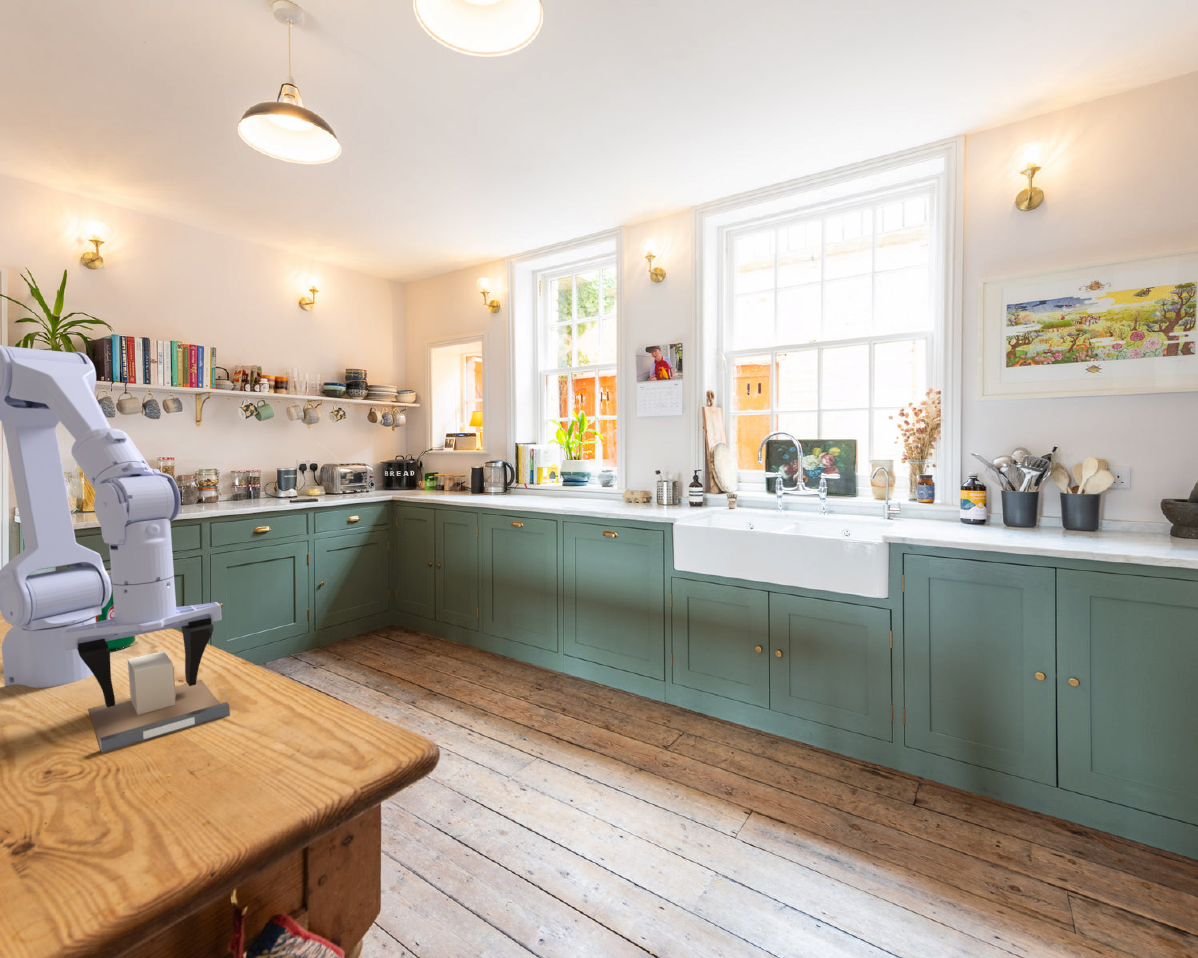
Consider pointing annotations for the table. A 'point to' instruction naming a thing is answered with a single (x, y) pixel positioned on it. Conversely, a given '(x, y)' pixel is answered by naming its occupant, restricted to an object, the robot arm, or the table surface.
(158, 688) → the carton
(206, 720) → the rail
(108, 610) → the soda can
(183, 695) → the shelf board
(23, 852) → the table surface
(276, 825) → the table surface
